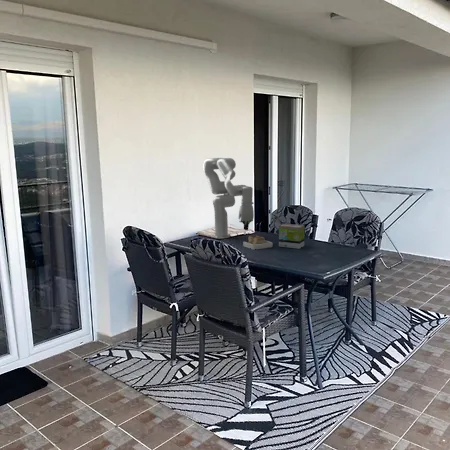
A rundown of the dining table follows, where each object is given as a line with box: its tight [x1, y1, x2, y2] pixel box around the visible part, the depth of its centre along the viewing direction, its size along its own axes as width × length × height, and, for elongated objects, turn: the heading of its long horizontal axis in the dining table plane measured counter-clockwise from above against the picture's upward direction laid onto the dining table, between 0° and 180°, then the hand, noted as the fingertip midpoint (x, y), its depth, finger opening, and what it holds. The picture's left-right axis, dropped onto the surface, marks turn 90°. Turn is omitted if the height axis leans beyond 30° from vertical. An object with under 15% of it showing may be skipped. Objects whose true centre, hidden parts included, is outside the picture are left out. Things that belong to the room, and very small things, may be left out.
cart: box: [248, 234, 265, 245], centre depth 320 cm, size 10×8×6 cm
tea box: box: [278, 223, 305, 250], centre depth 316 cm, size 15×10×15 cm
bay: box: [242, 239, 274, 251], centre depth 319 cm, size 14×15×3 cm
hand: (246, 229), depth 330 cm, fingers closed
